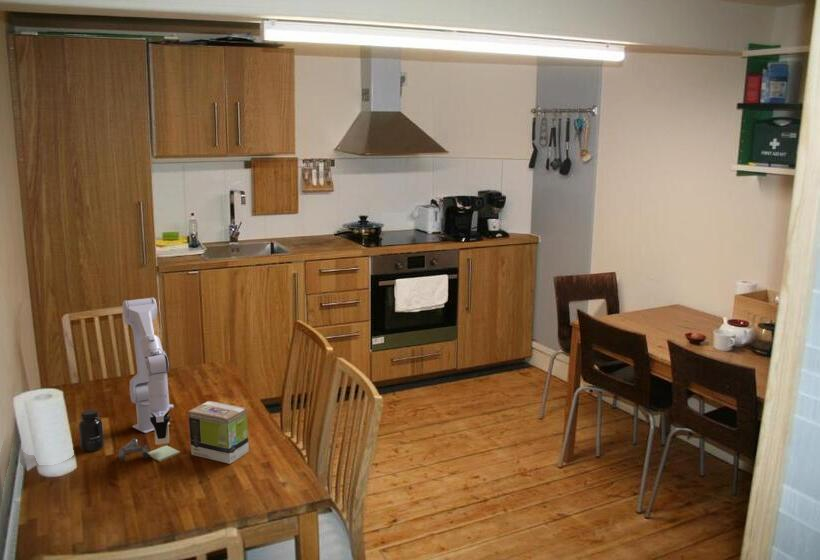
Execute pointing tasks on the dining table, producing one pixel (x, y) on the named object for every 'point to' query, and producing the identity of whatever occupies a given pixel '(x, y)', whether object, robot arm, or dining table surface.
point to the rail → (133, 449)
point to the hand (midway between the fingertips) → (161, 435)
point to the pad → (163, 453)
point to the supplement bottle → (91, 431)
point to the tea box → (218, 431)
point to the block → (164, 440)
